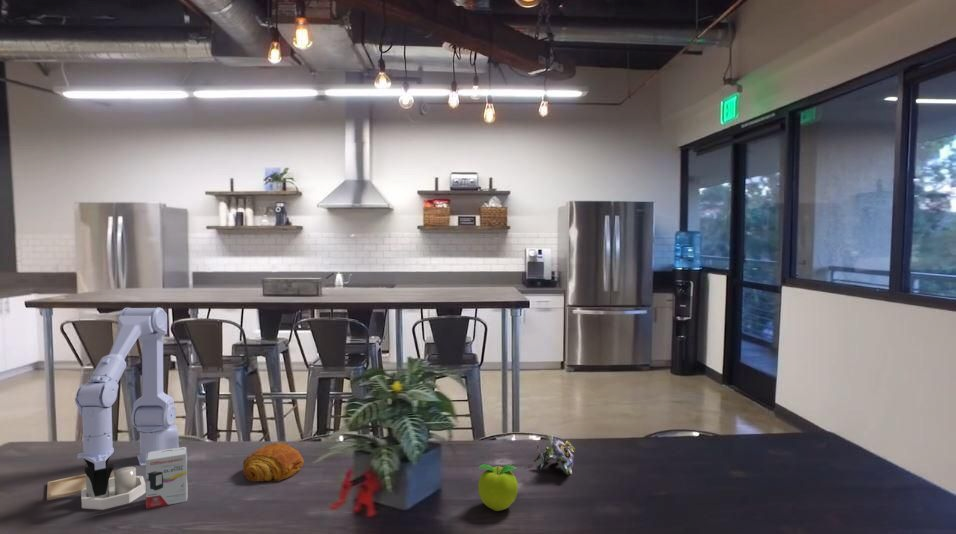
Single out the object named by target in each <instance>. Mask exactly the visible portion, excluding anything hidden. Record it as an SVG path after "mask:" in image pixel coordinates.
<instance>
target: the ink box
mask: <svg viewBox="0 0 956 534" xmlns="http://www.w3.org/2000/svg"><path fill="white" fill-rule="evenodd" d="M187 450H188V448H187V447H186V446H182V447H181V446H179V448H173V449H166V450H159V451H152V452H149V453H147V454H146V465H145V487H146V493H145V506H146V507H145V508H146V509H147V510H149V509H153V508H159V507H163V506H168V505H174V504H179V503H185V502H187V501H188V497H189V496H188V494H189V493H188V491H189V490H188V451H187Z"/></svg>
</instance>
